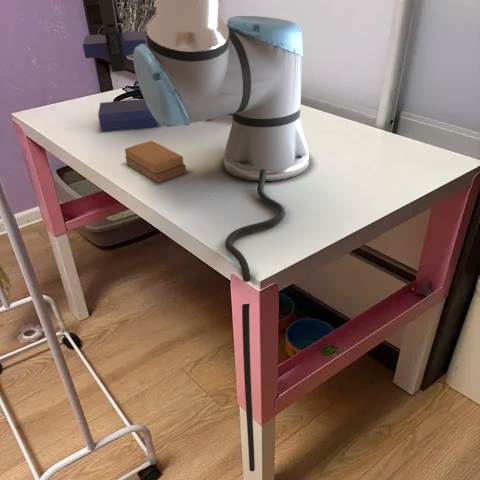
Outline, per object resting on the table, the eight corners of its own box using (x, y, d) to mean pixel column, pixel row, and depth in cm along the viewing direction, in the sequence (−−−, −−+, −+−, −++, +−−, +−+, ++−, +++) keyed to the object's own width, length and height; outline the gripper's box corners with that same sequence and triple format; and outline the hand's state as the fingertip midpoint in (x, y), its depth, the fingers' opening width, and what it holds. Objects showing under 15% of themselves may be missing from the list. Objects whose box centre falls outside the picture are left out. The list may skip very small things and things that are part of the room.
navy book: (146, 44, 107) (144, 30, 105) (147, 53, 101) (145, 39, 99) (88, 49, 106) (85, 35, 104) (85, 58, 100) (82, 44, 98)
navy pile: (156, 114, 116) (154, 97, 114) (157, 126, 110) (155, 109, 108) (103, 119, 115) (100, 102, 113) (101, 131, 109) (98, 114, 107)
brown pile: (186, 172, 91) (184, 156, 89) (157, 183, 89) (155, 166, 87) (154, 155, 98) (151, 139, 96) (126, 164, 95) (123, 148, 93)
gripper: (78, -76, 98) (103, 54, 113) (67, -70, 82) (98, 81, 97) (117, -79, 98) (138, 51, 113) (114, -73, 83) (138, 77, 97)
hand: (119, 65), depth 105 cm, fingers closed on navy book, 8 cm apart
